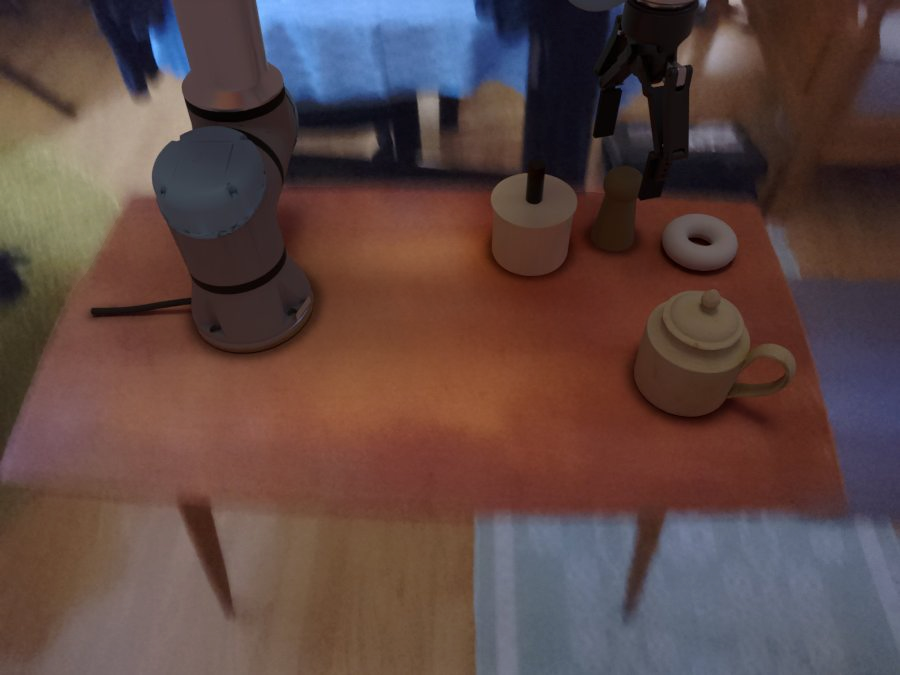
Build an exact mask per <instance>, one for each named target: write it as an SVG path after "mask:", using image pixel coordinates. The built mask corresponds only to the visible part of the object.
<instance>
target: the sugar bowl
mask: <svg viewBox="0 0 900 675" xmlns="http://www.w3.org/2000/svg"><path fill="white" fill-rule="evenodd" d="M762 358H763V359H764V358H765V359H766V358H767V359H772V360H774V361H776V362H777V363H779V365H781V366H782V368H783V370H784V374H783V375H782V376H781V377H779V378H777V379H776V380H771V381H769V382H763V383H762V382H761V383H746V382H745V383H744V382H736V380H737V378H738V377H739V376H740V374H741V373H742V372H743V371H745V370H746V369H748V367H749V366H751V364H753V363H754V362H755V361H756V360H758V359H762ZM795 359H796V358H795V356H794V355H793V354H792V352H791V351H790V350H789V349H788V348H786V347H784V346H782V345H780V344H778V343H763V344H759V345H758V346H756V347H754V348H753V349H751V336H750V334H749V331H748V328H747V326H746V325H745V321H744V318H743V316H742V314H741V313H740V310H739V309H738V308H737V307H736V306H735V304H733V303H732V302H731V301H729V300H727V299H726V298H724V297H722V296H721V295H720V292H719V290H717V289H714V288H711V289H709V290H708V289H707V290H706V291H704V290H684V291H682V292H678V293H676V294H674V295H672V296H671V297H670V298H668V300H666V301H664V302H661V303H659V304H658V305H657V306H656V307H655V308H654V309H653V310H652V311H651V312H650V314H649V316H648V318H647V321H646V324H645V327H644V330H643V332H642V336H641V340H640V343H639V346H638V351H637V355H636V359H635V363H634V367H633V378H634V382H635V385H636V388H637V389H638V391H639V393H640V394H641V395H642V396H643V398H645V399H646V401H648V402H649V403H650V404H651V405H653V406H654V407H656V408H657V409H660V411H664V412H665V413H668V414H671V415H675V416H678V417H679V416H680V417H687V418H689V417H693V418H694V417H700V416H705V415H708V414H710V413H712V412H714V411H716V410H717V409H719V408H720V407H721V406H722V405H723V404H724V402H725V401H726V399H732V398H763V397H768V396H773V395H775V394H777V393H779V392H782V391H783V390H784V389H786V388H787V387H788V386H789V385H790V384H791V383H792V382H793V380H794V378H795V375H796V372H797V362H796V360H795Z"/></svg>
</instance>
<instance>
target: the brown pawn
mask: <svg viewBox="0 0 900 675" xmlns="http://www.w3.org/2000/svg"><path fill="white" fill-rule="evenodd" d="M642 178H643V174H642V173H641V172H640V171H639V170H638V169H637V168H635V167H633V166H629V165H618V166H614V167H612V168H611V169H610V170H608V171H607V173H605V175H604V178H603V183H602V187H603V188H602V189H603V192H604V196H603V197H602V198H603V199H602V201H601V203H600V206H599V209H598V212H597V215H596V218H595V220H594V224H593V226H592V229H591V232H590V240H591V241H592V243H593V244H594V245H595V247H598V248H599V249H601V250H604V251H606V252H612V253H613V252H614V253H616V252H624V251H626V250H629V248H631V247H632V246H633V244H634V240H635V226H636V215H637V214H636V212H637V199H639V198H638V194H639V190H640V186H641V182H642Z"/></svg>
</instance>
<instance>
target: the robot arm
mask: <svg viewBox="0 0 900 675" xmlns="http://www.w3.org/2000/svg"><path fill="white" fill-rule="evenodd" d="M567 1H568V2H569V3H570V4H572V5H573V6H575V7H576V8H577V9H580V10H583V11H587V12H604V11H609V10H612V9H615V8H617V7H619V6H621V5H623V9H622V14H617V15H616V16H615V19H614V24H613V28H612V31H611V33H610V36H609V38H608V39H607V41H606V43H605V45H604V47H603V49H602V51H601V53H600V55H599V56H598V59H597V61H596V63H595V64H594V67H593V70H592V71H593V72H592V74H593V76H594V77H596V78H597V77H598V88H599V89H600V90H599V96H598V102H597V108H596V114H595V120H594V124H593V125H594V126H593V130H592V137H593V139H600V138H606V137H612V136H614V134H615V130H616V125H617V119H618V116H619V109H620V105H621V100H622V96H623V89H621V87H619V86H624V85H625V83H624V81H626V79H628V78H630V76H631V75H633V76H635V77H636V78H637V80H638V82H639V83H640V85H641V93H642V95H643V97H644V98H646V99H647V106H648V114H649V123H650V130H651V137H652V138H651V139H652V145H653V147H652V148H653V150H651V151H650V150H649V151H648V154H647V159H646V162H645V166H644V171H643V174H642V177H643V178H642V182H641V186H640V190H639V194H638V198H637V199H638V201H640V202H642V201H647V200H652V199H656V198H661V197H662V193H663V190H664V187H665V183H666V181H667V180H668V178H669V175H670V172H671V168H672V166H673V162H677V161H682V160H687V159H688V158H689V155H690V153H689V152H690V150H689V149H690V145H689V144H690V88H691V83H692V78H693V74H694V68H693V65H692V64H685V65H682V64H680V63H679V62H678V49H679V47H680V46H681V45H682V44H683V42H684V41H686V40H687V39H688V38H689V37H690V35H691V34H692V32H693V28H694V25H695V21H696V17H697V14H698V9H699V5H700V1H699V0H567ZM171 4H172V8H173V11H174V15H175V18H176V22H177V26H178V30H179V34H180V38H181V40H182V44H183V48H184V51H185V56H186V59H187V62H188V66H189V69H190V70H189V72H188V73H187V74H186V75H185V77H184V78H183V80H182V82H181V93H182V96H183V99H184V100H183V101H184V103H185V107H186V110H187V113H188V117H189V120H190V125H191V130H188V131H185V132H183V133H181V134H180V135H179V140H170V141H169V142H168V143H167V144H166V145H165V146H164V147H163V148H161V151H159V153H158V154H157V156H156V158H155V160H154V163H153V166H152V170H151V184H152V188H153V191H154V194H155V199H156V204H157V207H158V210H159V212H160V214H161V216H162V218H163V219H164V220H165V222H166V224H167V227H168V229H169V231H170V234H171V236H172V238H173V240H174V242H175V245H176V247H177V249H178V251H179V253H180V255H181V258H182V260H183V263H184V264H185V267H186V269H187V271H188V273H189V275H190V278H191V290H190V291H191V294H190V295H191V296H190V297H184V298H177V299H176V298H175V299H170V300H169V299H168V300H162V301H156V302H149V303H144V304H137V305H131V306H119V307H117V306H116V307H92V308H91V309H90V314H91V315H92V316H96V315H97V316H99V315H101V316H102V315H104V316H105V315H125V314H126V315H127V314H134V313H135V314H136V313H142V312H148V311H153V310H161V309H167V308H175V307H181V306H188V305H190V310H191V317H192V320H193V323H194V325H195V327H196V329H197V331H198V333H199V334H200V336H201V337H202V339H203V340H205V341H206V343H208V344H210V345H211V346H213V347H215V348H216V349H220V350H222V351H226V352H230V353H231V352H232V353H240V354H242V353H244V354H245V353H255V352H261V351H264V350H268V349H271V348H275V347H276V346H279V345H280V344H283V343H285V342H286V341H288V340H289V339H291V338H292V337H294V336H295V335H296V334H297V333H298V332H299V331H301V330H302V328H303V327H304V326H305V325H306V323H308V320H309V319H310V317H311V315H312V312H313V309H314V302H315V301H314V300H315V299H314V293H313V288H312V285H311V282H310V279H309V278H308V276H307V275H306V273H305V272H304V271H303V269H302V268H301V267H300V265H299V264H298V263H297V262H296V260H295V259H294V258H293V257H292V255H291V254H290V253H289V251H288V250H287V249H286V245H285V241H284V238H283V233H282V229H281V227H280V223H279V219H278V205H279V201H280V197H281V194H282V190H283V187H284V186H283V185H284V182H285V180H286V177H287V172H288V169H289V165H290V163H291V162H290V161H291V158H292V154H293V152H294V150H295V148H296V145H297V142H298V137H299V130H300V129H299V126H300V125H299V112H298V108H297V105H296V101H295V100H294V98H293V96H292V94H291V92H290V91H289V89H288V88H287V86H285V81H284V77H283V73H282V72H281V70H280V69H279V68H278V67H277V66H275V65H274V64H272V63H271V62H269V61H268V58H267V54H266V48H265V42H264V35H263V31H262V25H261V19H260V13H259V8H258V3H257V0H171ZM661 83H663V85H659V84H661ZM653 85H658V86H653Z"/></svg>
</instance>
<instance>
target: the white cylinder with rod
mask: <svg viewBox="0 0 900 675" xmlns="http://www.w3.org/2000/svg"><path fill="white" fill-rule="evenodd" d="M546 169H547V163H546V160H544V159H542V158H539V157H537V158H531V159H530V160H529V161H528V163H527V172H523V173H517V174H514V175H512V176H508V177H505V178H504V179H503V180H501V181H500V182H498V183H497V184H496V185H495V187H494V188H493V189H492V191H491V196H490V207H491V209H492V212H493V211H494V213H495V214H496V215H497V216H498V217H499V218H500V219H501V220H502V221H504V222H505V223H507V224H509V225H511V226H514V227H517V228H520V229H525V230H547V229H552V228H555V227H558V226H560V225H562V224H564V223H566V222H567V221H568V220H569V219H571V218H572V216H573V217H574V216H575V213H576V211H577V208H578V197H577V194H576V192H575V190H574V189H573V187H571V186H570V185H569V184H568V183H567V182H565V181H564V180H562V179H560V178H558V177H555V176H553V175H551V174H546V171H547V170H546Z"/></svg>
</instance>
